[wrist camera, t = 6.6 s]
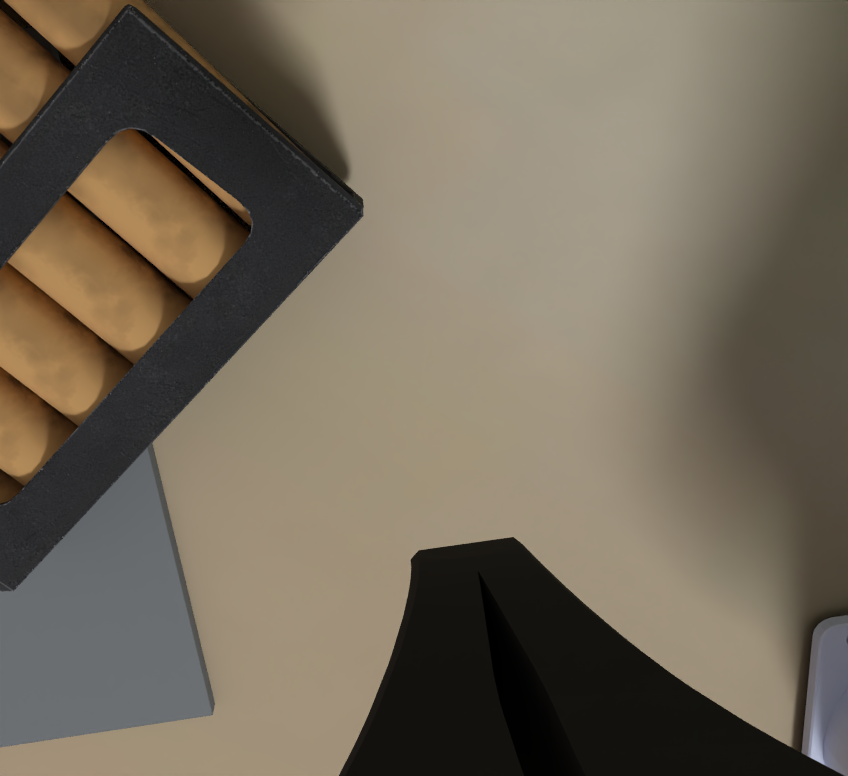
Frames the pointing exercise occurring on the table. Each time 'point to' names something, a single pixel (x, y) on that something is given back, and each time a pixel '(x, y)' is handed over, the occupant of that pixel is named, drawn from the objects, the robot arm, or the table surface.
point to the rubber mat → (103, 619)
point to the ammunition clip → (129, 249)
